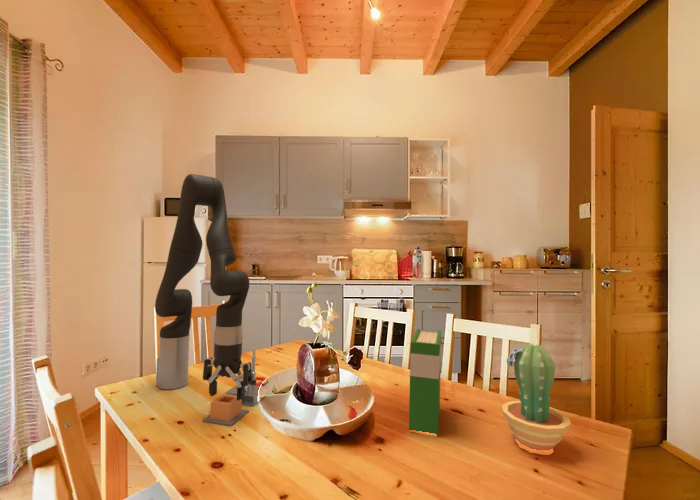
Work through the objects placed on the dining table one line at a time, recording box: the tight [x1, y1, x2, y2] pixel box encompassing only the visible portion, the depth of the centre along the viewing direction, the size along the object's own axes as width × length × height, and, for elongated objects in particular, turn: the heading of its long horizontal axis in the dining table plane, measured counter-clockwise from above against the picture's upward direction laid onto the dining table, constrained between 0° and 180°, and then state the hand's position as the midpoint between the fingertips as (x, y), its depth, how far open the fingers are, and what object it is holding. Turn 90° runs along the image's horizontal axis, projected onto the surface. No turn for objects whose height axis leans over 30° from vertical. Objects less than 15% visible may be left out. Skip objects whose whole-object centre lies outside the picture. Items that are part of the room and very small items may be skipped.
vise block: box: [224, 384, 260, 407], centre depth 109 cm, size 10×11×8 cm
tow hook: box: [249, 349, 266, 386], centre depth 124 cm, size 8×13×9 cm
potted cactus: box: [501, 343, 572, 450], centre depth 87 cm, size 15×15×25 cm
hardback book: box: [408, 328, 442, 435], centre depth 99 cm, size 18×7×24 cm, turn 163°
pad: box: [202, 408, 250, 427], centre depth 98 cm, size 9×9×1 cm
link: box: [209, 393, 242, 421], centre depth 98 cm, size 6×6×4 cm
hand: (226, 397), depth 99 cm, fingers open, 8 cm apart
